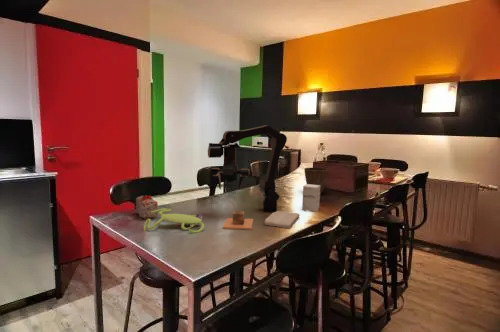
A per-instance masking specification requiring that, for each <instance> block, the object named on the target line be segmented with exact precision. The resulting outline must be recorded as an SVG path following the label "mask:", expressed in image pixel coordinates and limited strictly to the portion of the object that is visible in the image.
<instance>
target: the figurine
mask: <svg viewBox="0 0 500 332" xmlns="http://www.w3.org/2000/svg"><path fill="white" fill-rule="evenodd" d="M156 212H158V215H159V216H160V218H159V219H158V220H157V221H156V222H155V223H153V224H152V225H151V222H152V221H151V220H152V219H145V220H146V221H145V222H144V226H143V232H145V231H147V229H148V230H149V231H151V230H153V229H154V228H155V227H157V226H158V225H159V224H161V223H162V222H163V221H167V222H170V223H175V224H174V226H178V225H180V224H181V225H180V228H181V230H188V231H189V232H190V233H191V234H199V233H201V232H203V231H204V229H205V224H204V222H203V215H200V214H182V213H171V212H172V209H171V208H168V207H166V208H164V207H163V208H160V209H159V208H158V210H155V211H151V214H152V213H156ZM196 225H200V226H201V227H200V228H199V229H198V230H192V228H194V226H195V227H196ZM185 226H187V227H185Z"/></svg>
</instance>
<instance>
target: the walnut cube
mask: <svg viewBox="0 0 500 332" xmlns="http://www.w3.org/2000/svg"><path fill="white" fill-rule="evenodd" d="M232 218H233V224H236V225H244V219H245V211H244V210H234V211H233V212H232Z"/></svg>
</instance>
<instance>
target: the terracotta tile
mask: <svg viewBox="0 0 500 332" xmlns="http://www.w3.org/2000/svg"><path fill="white" fill-rule="evenodd" d="M253 223H254V218H244V225H236V224H233V217H227V218H226V219H225V221H224V223H223V226H222V229H223V230H240V229H246V230H245V231H252V230H253V229H252V228H253ZM251 229H252V230H251Z"/></svg>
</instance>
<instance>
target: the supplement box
mask: <svg viewBox="0 0 500 332" xmlns="http://www.w3.org/2000/svg"><path fill="white" fill-rule="evenodd" d="M320 199H321V194H320V185H312V184H307V183H306V184H304V185H303V187H302V205H301V208H302V209H301V210H303V211H311V212H314V213H315V212H317V211H318V210H319V209H320Z"/></svg>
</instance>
